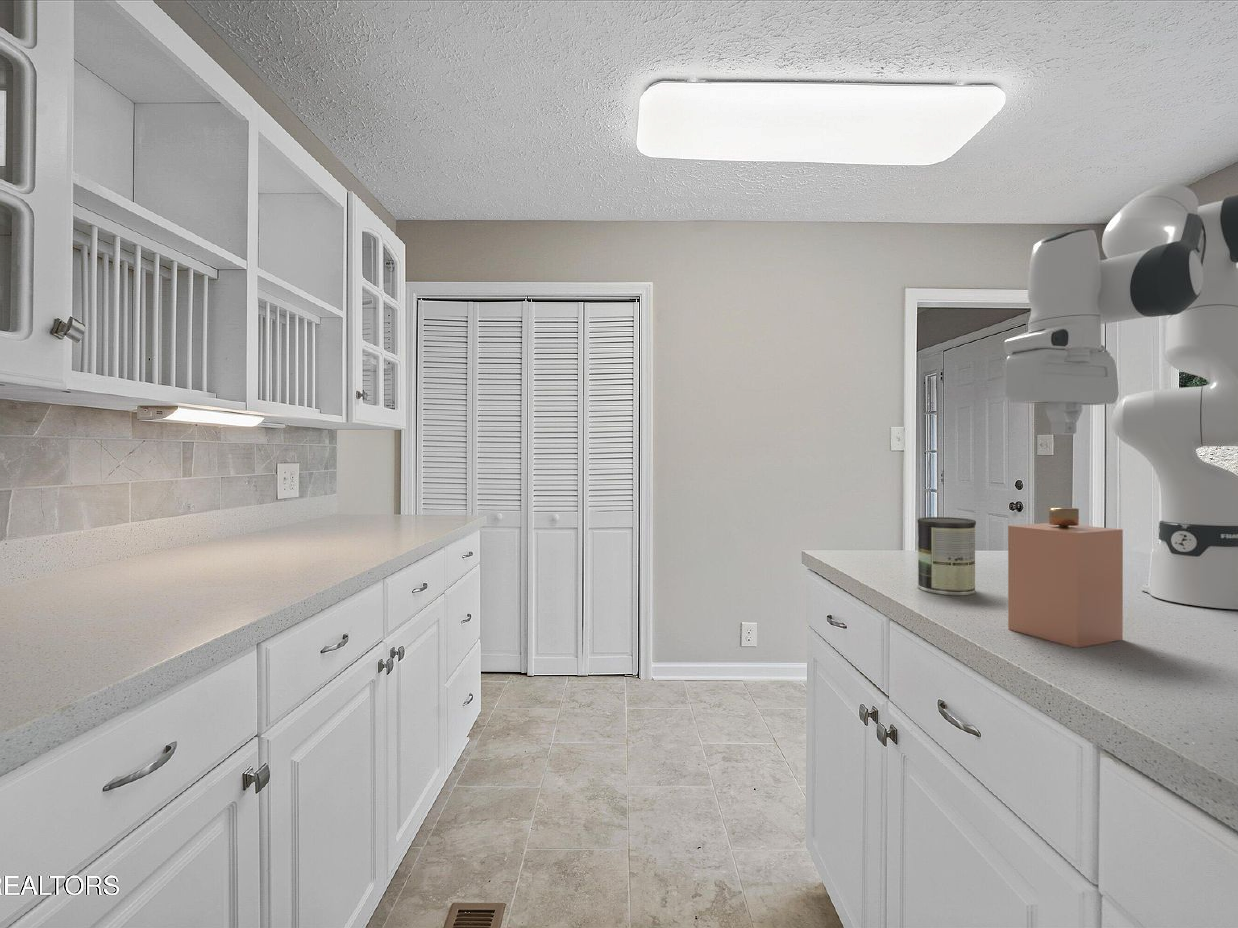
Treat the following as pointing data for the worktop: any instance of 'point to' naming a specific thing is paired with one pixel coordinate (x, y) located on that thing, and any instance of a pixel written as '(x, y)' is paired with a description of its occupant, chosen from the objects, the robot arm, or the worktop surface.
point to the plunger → (1064, 517)
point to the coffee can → (946, 555)
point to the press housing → (1066, 583)
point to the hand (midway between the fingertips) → (1063, 434)
